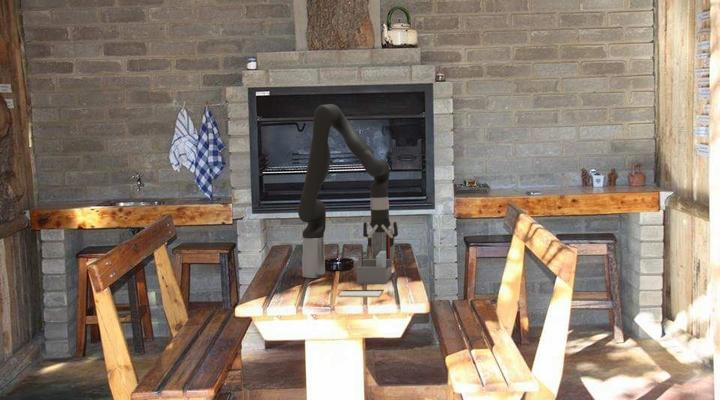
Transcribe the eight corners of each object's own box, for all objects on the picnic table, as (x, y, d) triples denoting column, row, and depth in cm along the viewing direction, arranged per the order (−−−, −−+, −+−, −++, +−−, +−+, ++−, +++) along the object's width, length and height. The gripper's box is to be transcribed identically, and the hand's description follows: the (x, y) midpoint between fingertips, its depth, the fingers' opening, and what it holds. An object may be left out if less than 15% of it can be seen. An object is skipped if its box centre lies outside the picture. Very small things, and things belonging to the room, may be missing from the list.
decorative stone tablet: (384, 229, 386) (396, 225, 415) (370, 228, 387) (382, 225, 417) (384, 273, 386) (396, 266, 416) (370, 273, 388) (382, 266, 417)
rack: (356, 286, 366) (356, 267, 365) (363, 277, 384) (363, 259, 383) (386, 286, 364) (385, 267, 363) (391, 277, 382) (391, 259, 381)
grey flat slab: (376, 285, 367) (375, 256, 366) (381, 279, 380) (380, 251, 379) (382, 285, 367) (381, 256, 366) (386, 279, 380) (385, 251, 378)
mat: (338, 296, 348) (338, 295, 348) (345, 288, 362) (344, 287, 362) (379, 297, 346) (379, 295, 346) (384, 289, 359) (384, 287, 359)
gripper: (361, 209, 368) (362, 248, 369) (395, 208, 365) (396, 248, 367) (364, 207, 375) (365, 245, 377) (397, 206, 373) (399, 245, 374)
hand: (381, 246), depth 372 cm, fingers open, 8 cm apart
